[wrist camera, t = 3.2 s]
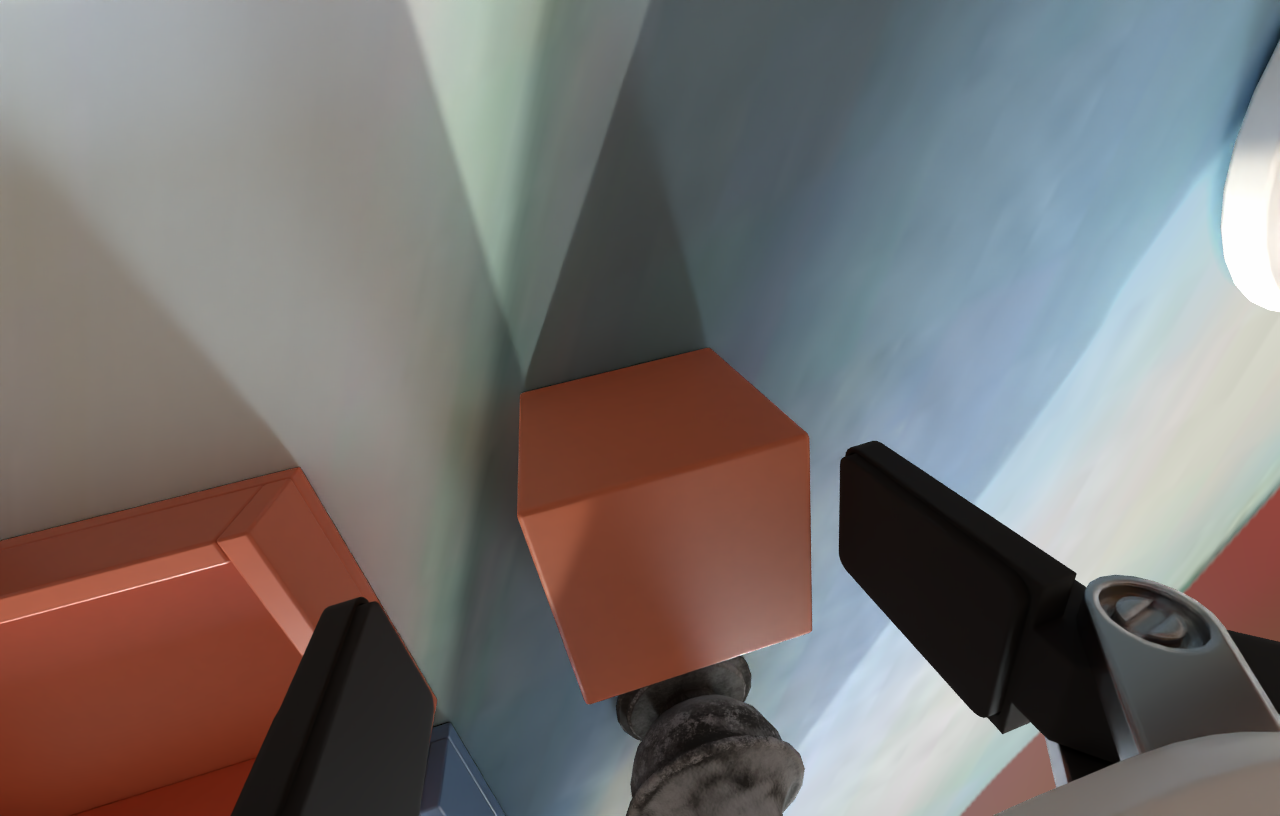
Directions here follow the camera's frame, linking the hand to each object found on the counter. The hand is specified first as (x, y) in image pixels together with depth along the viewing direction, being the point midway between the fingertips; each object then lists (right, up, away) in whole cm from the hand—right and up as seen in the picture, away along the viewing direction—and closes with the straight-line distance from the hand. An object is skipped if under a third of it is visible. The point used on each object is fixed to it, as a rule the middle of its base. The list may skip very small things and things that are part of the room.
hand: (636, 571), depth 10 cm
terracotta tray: (-13, -4, +3) cm, 14 cm away
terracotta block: (0, +2, +4) cm, 4 cm away
